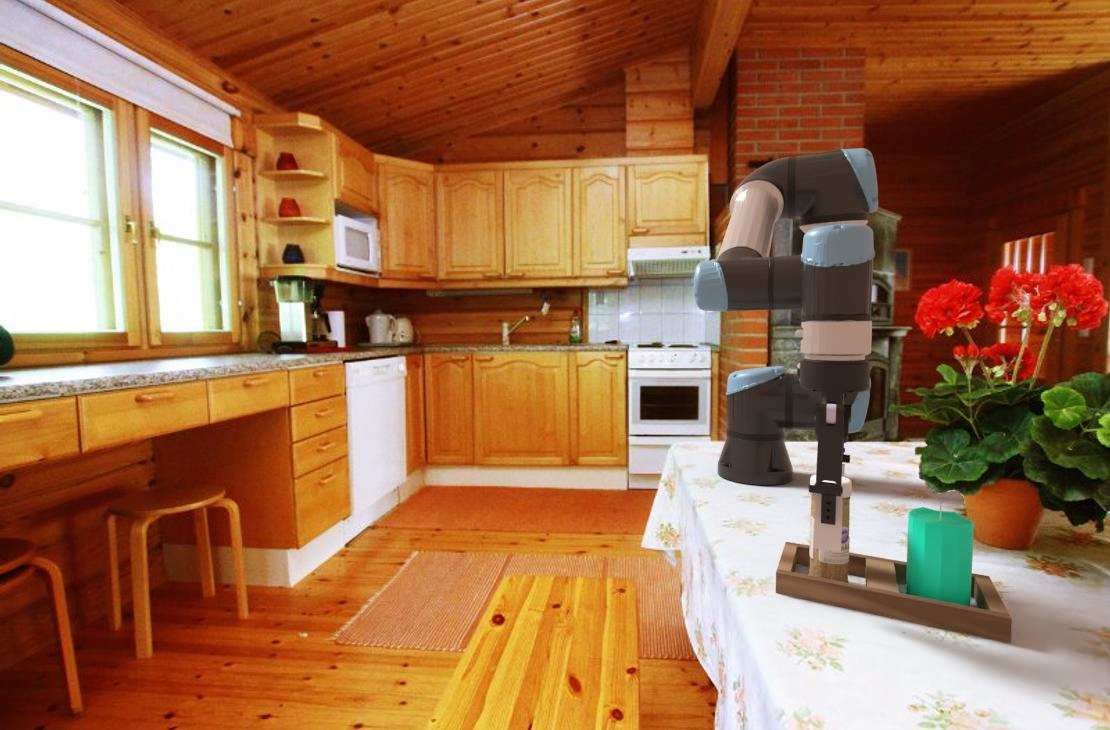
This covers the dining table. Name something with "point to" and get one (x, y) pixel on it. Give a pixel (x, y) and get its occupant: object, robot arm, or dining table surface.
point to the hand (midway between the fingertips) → (829, 528)
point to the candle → (939, 555)
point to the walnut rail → (894, 594)
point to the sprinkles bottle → (835, 562)
